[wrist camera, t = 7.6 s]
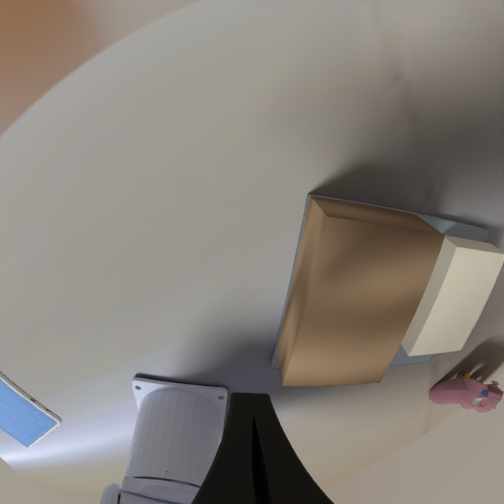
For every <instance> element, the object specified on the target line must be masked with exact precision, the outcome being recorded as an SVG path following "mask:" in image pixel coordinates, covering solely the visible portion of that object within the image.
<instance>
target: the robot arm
mask: <svg viewBox="0 0 504 504" xmlns="http://www.w3.org/2000/svg"><path fill="white" fill-rule="evenodd" d="M132 387H133V391H134V395H135V400H136V404H137V408H138V412H139V413H138V417H137V422H136V426H135V430H134V435H133V439H132V444H131V448H130V453H129V458H128V463H127V468H126V473H125V476H124V479H123V483H122V487H121V489H119V487H120V485H119V484H115V483H112V484H111V486H110V485H109V486H107V487H105V488H104V491H103V494H102V499H101V503H100V504H334V503H333V502H332V501H331V500H330V499H329V498H328V497H327V496H326V495H325V493H324V492H323V491H322V490H321V489H320V487H319V486H318V485H317V484H316V482H315V481H314V480H313V479H312V477H311V476H310V474H309V473H308V472H307V470H306V469H305V467H304V466H303V464H302V463H301V461H300V460H299V458H298V456H297V455H296V453H295V451H294V450H293V448H292V446H291V444H290V442H289V441H288V439H287V437H286V435H285V433H284V431H283V429H282V427H281V425H280V422H279V420H278V418H277V415H276V413H275V410H274V408H273V405H272V402H271V399H270V396H269V395H268V394H258V393H236V392H234V393H232V394H230V402H229V409H228V416H227V423H226V427H225V430H224V433H223V428H224V420H225V412H226V404H227V396H228V390H227V389H225V388H222V387H210V386H200V385H190V384H181V383H173V382H165V381H158V380H151V379H145V378H138V377H135V378H133V379H132ZM222 435H223V436H222Z"/></svg>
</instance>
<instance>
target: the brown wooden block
mask: <svg viewBox="0 0 504 504" xmlns="http://www.w3.org/2000/svg"><path fill="white" fill-rule="evenodd" d="M444 238H445V235H444V234H442V233H441V232H440V231H438V230H437V229H435V228H434V227H433V226H431V225H430V224H428V223H427V222H426V221H424V220H423V219H421V218H420V217H418V216H417V215H415V214H413V213H408V212H403V211H397V210H392V209H387V208H381V207H376V206H370V205H364V204H358V203H353V202H346V201H340V200H334V199H327V198H321V197H314V196H310V198H309V203H308V208H307V214H306V219H305V224H304V229H303V233H302V238H301V243H300V248H299V253H298V257H297V262H296V267H295V271H294V276H293V280H292V285H291V289H290V294H289V298H288V302H287V307H286V311H285V315H284V319H283V323H282V327H281V331H280V335H279V339H278V343H277V347H276V350H277V356H278V362H279V369H280V375H281V381H282V386H332V385H352V384H367V383H379V382H380V381H381V379H382V377H383V376H384V374H385V372H386V370H387V368H388V367H389V365H390V363H391V361H392V359H393V357H394V355H395V354H396V352H397V350H398V348H399V346H400V344H401V342H402V340H403V338H404V336H405V334H406V332H407V330H408V328H409V326H410V323H411V321H412V319H413V317H414V315H415V313H416V310H417V308H418V306H419V304H420V301H421V299H422V297H423V294H424V292H425V289H426V287H427V285H428V282H429V280H430V277H431V275H432V272H433V269H434V267H435V264H436V261H437V259H438V256H439V253H440V250H441V247H442V244H443V241H444Z"/></svg>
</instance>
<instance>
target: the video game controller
mask: <svg viewBox="0 0 504 504" xmlns="http://www.w3.org/2000/svg"><path fill="white" fill-rule="evenodd" d="M491 382H492V383H493V384H490V385H489V384H488V385H486V384H483V383H482V382H481V381H480V380H477V379H474V378H470V375H469V374H465V375H464V376H462V375H459V374H458V376H457V378H456V379H451V380H447V381H444V382H441V383H439V384H437V385H435V386H434V387H433V388H432V389H431V390H430V393H429V398H430V400H431V401H432V402H434V403H436V404H448V403H460V404H461V406H462V407H463V408H465V409H476V410H477V411H478V412H481V413H483V412H487V411H490V410H491V409H493V408H495V409H496V405H497V404H498V403H500V401H501V399H502V396H503V393H504V392H503V391H501V390H500V389H499V388H498V386H497V384H498V385H499V383H498V382H496V381H491Z"/></svg>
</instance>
